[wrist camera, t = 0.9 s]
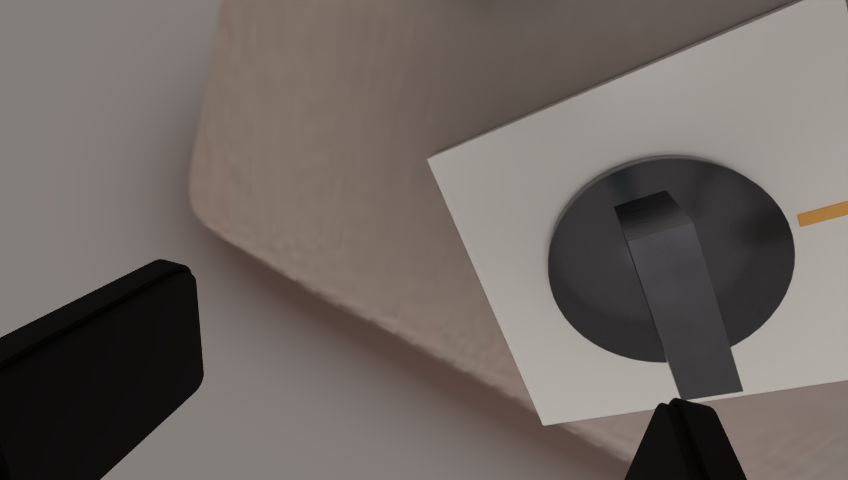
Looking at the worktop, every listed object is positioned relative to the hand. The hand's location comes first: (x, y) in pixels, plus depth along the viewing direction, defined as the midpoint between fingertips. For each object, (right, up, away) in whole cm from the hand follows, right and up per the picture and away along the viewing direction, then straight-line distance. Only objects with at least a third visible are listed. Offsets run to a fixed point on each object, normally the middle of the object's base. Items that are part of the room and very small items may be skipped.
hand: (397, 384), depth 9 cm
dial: (+16, +2, +21) cm, 26 cm away
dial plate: (+17, +2, +23) cm, 28 cm away
